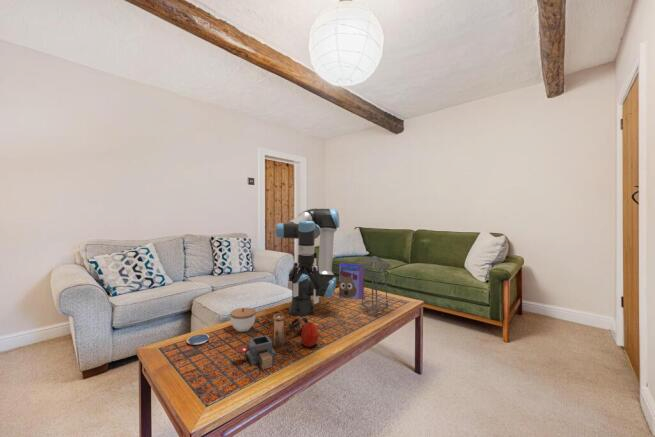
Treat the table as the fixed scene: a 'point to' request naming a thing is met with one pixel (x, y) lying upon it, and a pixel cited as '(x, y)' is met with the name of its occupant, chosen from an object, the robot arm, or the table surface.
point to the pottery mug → (297, 324)
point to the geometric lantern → (375, 281)
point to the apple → (309, 334)
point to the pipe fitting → (278, 329)
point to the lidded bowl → (243, 319)
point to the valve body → (259, 351)
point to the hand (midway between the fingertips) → (305, 299)
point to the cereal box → (351, 281)
